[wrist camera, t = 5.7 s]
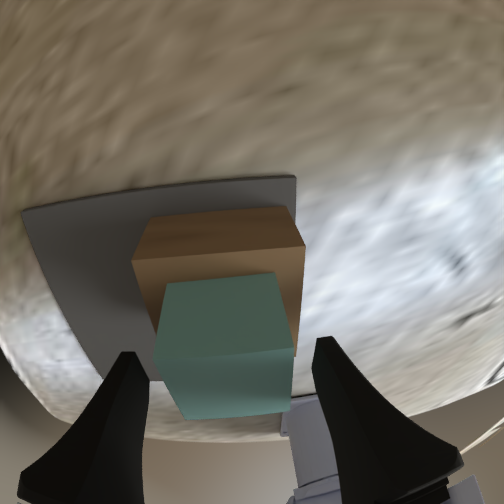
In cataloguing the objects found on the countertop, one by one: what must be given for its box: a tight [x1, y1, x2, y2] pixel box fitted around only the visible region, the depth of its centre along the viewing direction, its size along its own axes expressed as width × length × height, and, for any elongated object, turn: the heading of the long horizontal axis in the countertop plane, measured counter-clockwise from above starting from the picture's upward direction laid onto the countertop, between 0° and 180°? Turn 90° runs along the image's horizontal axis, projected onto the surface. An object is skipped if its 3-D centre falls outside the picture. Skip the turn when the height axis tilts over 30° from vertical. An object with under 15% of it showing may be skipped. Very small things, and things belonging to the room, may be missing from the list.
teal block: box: [152, 272, 294, 420], centre depth 12 cm, size 4×4×4 cm
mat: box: [21, 175, 296, 381], centre depth 18 cm, size 16×16×1 cm
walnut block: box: [131, 206, 306, 357], centre depth 15 cm, size 7×7×4 cm
